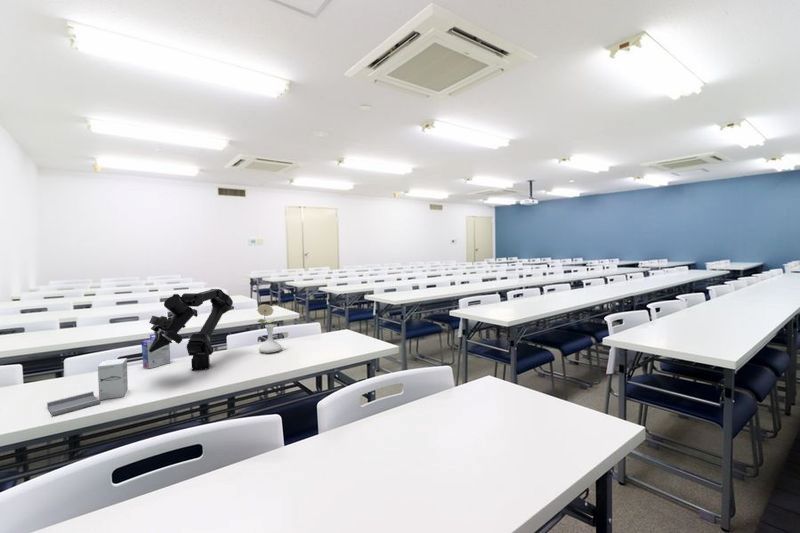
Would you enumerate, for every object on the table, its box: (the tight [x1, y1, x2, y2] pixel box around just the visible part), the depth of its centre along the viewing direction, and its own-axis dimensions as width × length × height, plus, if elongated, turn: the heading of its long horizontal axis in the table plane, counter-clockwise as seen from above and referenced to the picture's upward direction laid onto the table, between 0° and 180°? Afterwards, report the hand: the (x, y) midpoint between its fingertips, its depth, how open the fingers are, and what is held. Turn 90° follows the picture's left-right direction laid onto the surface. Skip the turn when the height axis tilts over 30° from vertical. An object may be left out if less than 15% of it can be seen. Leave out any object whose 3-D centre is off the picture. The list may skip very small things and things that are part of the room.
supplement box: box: [97, 357, 129, 401], centre depth 130 cm, size 7×7×13 cm
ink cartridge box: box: [141, 333, 171, 370], centre depth 163 cm, size 10×6×14 cm, turn 153°
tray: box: [46, 390, 101, 417], centre depth 121 cm, size 12×11×2 cm
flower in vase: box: [256, 304, 283, 354], centre depth 184 cm, size 13×11×25 cm
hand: (149, 351), depth 138 cm, fingers closed
